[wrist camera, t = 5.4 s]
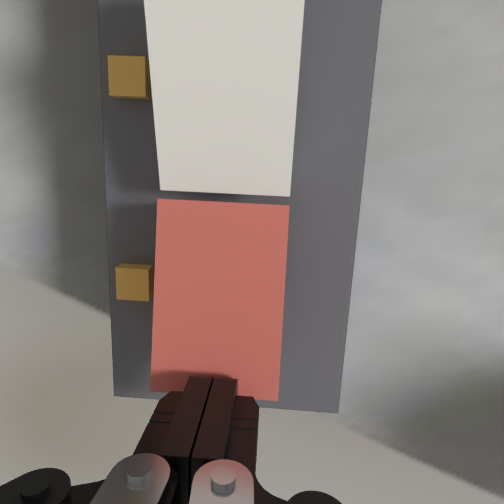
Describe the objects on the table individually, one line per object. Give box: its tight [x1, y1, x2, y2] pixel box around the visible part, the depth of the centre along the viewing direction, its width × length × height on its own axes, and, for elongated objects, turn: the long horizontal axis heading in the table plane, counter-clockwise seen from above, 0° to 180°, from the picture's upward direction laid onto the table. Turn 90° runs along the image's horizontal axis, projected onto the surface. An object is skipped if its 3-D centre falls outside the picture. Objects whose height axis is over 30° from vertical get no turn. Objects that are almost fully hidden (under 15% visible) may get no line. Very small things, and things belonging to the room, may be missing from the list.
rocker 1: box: [144, 0, 305, 197], centre depth 12 cm, size 6×4×2 cm, turn 178°
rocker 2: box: [150, 199, 290, 401], centre depth 13 cm, size 6×4×2 cm, turn 177°
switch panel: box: [98, 0, 382, 413], centre depth 15 cm, size 24×9×5 cm, turn 177°
